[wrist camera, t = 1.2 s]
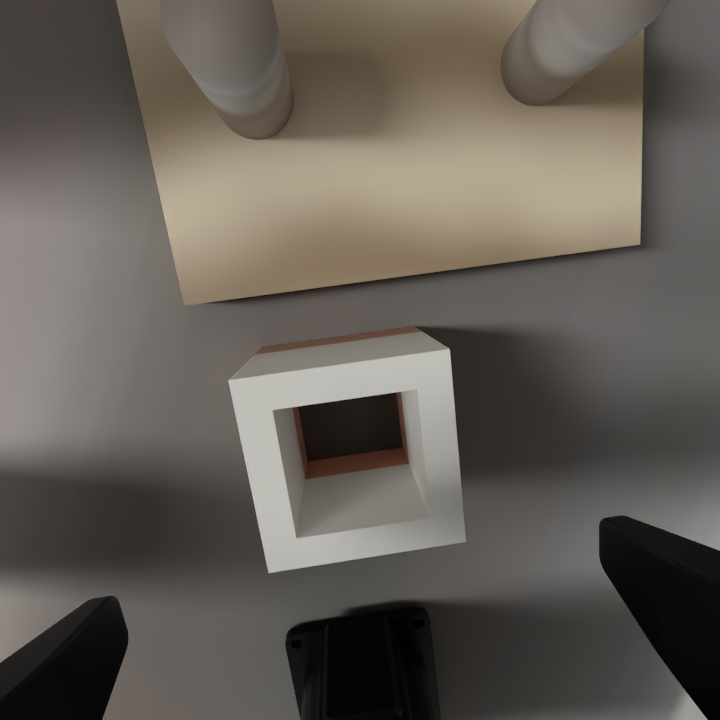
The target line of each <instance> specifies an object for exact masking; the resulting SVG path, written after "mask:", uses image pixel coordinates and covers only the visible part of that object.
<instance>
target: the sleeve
mask: <svg viewBox="0 0 720 720" xmlns="http://www.w3.org/2000/svg"><path fill="white" fill-rule="evenodd" d="M228 381H229V386H230V390H231V395H232V400H233V405H234V410H235V414H236V419H237V424H238V429H239V434H240V439H241V443H242V448H243V453H244V458H245V463H246V467H247V472H248V477H249V482H250V487H251V491H252V496H253V501H254V506H255V511H256V516H257V520H258V525H259V530H260V535H261V540H262V544H263V549H264V554H265V559H266V564H267V568H268V573H273V572H279V571H285V570H292V569H298V568H304V567H311V566H317V565H323V564H330V563H336V562H342V561H349V560H355V559H361V558H368V557H374V556H380V555H387V554H393V553H399V552H406V551H412V550H418V549H425V548H431V547H437V546H444V545H450V544H456V543H463V542H466V536H465V524H464V512H463V500H462V488H461V476H460V464H459V452H458V440H457V428H456V416H455V404H454V392H453V381H452V369H451V357H450V349H449V348H448V347H446V346H444V345H443V344H441V343H440V342H438V341H437V340H435V339H433V338H432V337H430V336H429V335H427V334H426V333H424V332H422V331H421V330H419V329H418V328H416V327H415V326H412V327H405V328H398V329H390V330H383V331H376V332H369V333H361V334H354V335H347V336H340V337H333V338H325V339H318V340H311V341H304V342H297V343H289V344H282V345H275V346H268V347H262V348H261V349H260V350H259V351H257V352H256V353H255V354H254V355H253V356H252V357H251V358H250V359H249V360H248V361H247V362H246V363H245V364H244V365H243V366H242V367H241V368H240V369H239V370H238V371H237V372H236V373H235V374H234V375H233V376H232V377H231V378H230V379H229V380H228ZM395 392H396V395H397V404H398V412H399V421H400V429H401V438H402V447H401V448H394V449H388V450H381V451H374V452H368V453H361V454H354V455H347V456H341V457H334V458H327V459H321V460H314V461H307V455H306V449H305V443H304V438H303V432H302V426H301V420H300V414H299V409H298V406H305V405H312V404H319V403H326V402H333V401H340V400H347V399H354V398H361V397H367V396H374V395H381V394H388V393H395Z"/></svg>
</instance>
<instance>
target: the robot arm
mask: <svg viewBox="0 0 720 720" xmlns="http://www.w3.org/2000/svg"><path fill="white" fill-rule="evenodd" d="M599 556H600V562H601V565H602V567H603V569H604V571H605V573H606V574H607V576H608V577H609V579H610V581H611V582H612V584H613V585H614V587H615V588H616V590H617V591H618V593H619V595H620V596H621V598H622V599H623V601H624V602H625V604H626V605H627V607H628V609H629V610H630V612H631V613H632V615H633V616H634V618H635V619H636V621H637V623H638V624H639V626H640V627H641V629H642V630H643V632H644V633H645V635H646V637H647V638H648V640H649V641H650V643H651V644H652V646H653V647H654V649H655V650H656V652H657V653H658V655H659V656H660V657H661V659H662V660H663V661H664V663H665V664H666V665H667V667H668V668H669V670H670V671H671V672H672V674H673V675H674V676H675V677H676V679H677V680H678V681H679V683H680V684H681V685H682V687H683V688H684V689H685V691H686V692H687V693H688V694H689V696H690V697H691V698H692V700H693V701H694V702H695V704H696V705H697V706H698V707H699V709H700V710H701V711H702V713H703V714H704V715H705V717H706V718H707V719H708V720H720V551H719V550H716V549H713V548H711V547H708V546H705V545H703V544H700V543H697V542H695V541H692V540H689V539H686V538H684V537H681V536H678V535H676V534H673V533H670V532H668V531H665V530H662V529H659V528H657V527H654V526H651V525H649V524H646V523H643V522H641V521H638V520H635V519H632V518H630V517H627V516H614V517H608V518H604V519H602V520H601V521H600V524H599ZM417 619H421V620H419V621H415V620H417ZM295 639H299V641H295ZM127 645H128V630H127V627H126V623H125V620H124V617H123V613H122V610H121V607H120V603H119V601H118V599H117V598H116V597H114V596H106V597H100V598H94V599H91V600H88V601H87V602H85V603H84V604H82V605H81V606H80V607H78V608H77V609H75V610H74V611H73V612H71V613H70V614H68V615H67V616H66V617H64V618H63V619H61V620H60V621H58V622H57V623H56V624H54V625H53V626H51V627H50V628H49V629H47V630H46V631H44V632H43V633H42V634H40V635H39V636H37V637H36V638H35V639H33V640H32V641H30V642H29V643H28V644H26V645H25V646H23V647H22V648H20V649H19V650H18V651H16V652H15V653H13V654H12V655H11V656H9V657H8V658H6V659H5V660H4V661H2V662H1V663H0V720H102V719H103V716H104V713H105V710H106V707H107V704H108V701H109V699H110V696H111V693H112V690H113V687H114V684H115V681H116V678H117V676H118V673H119V670H120V667H121V664H122V661H123V658H124V655H125V652H126V649H127ZM285 646H286V651H287V656H288V661H289V666H290V670H291V675H292V680H293V685H294V690H295V695H296V700H297V704H298V709H299V714H300V719H301V720H440V719H441V717H440V708H439V699H438V690H437V681H436V672H435V663H434V654H433V645H432V636H431V627H430V620H429V617H428V613H427V611H426V610H425V609H423V608H421V607H415V608H409V609H403V610H396V611H390V612H384V613H378V614H372V615H366V616H360V617H353V618H347V619H341V620H335V621H329V622H323V623H317V624H310V625H304V626H298V627H294V628H291V629H290V630H289V631H288V633H287V635H286V643H285Z"/></svg>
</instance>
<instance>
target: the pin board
mask: <svg viewBox="0 0 720 720" xmlns="http://www.w3.org/2000/svg"><path fill="white" fill-rule="evenodd" d="M669 1H670V0H116V2H117V6H118V11H119V15H120V20H121V24H122V29H123V33H124V38H125V42H126V47H127V51H128V56H129V60H130V65H131V69H132V74H133V78H134V83H135V87H136V92H137V96H138V100H139V105H140V109H141V114H142V118H143V123H144V127H145V132H146V136H147V141H148V145H149V150H150V154H151V159H152V163H153V168H154V172H155V177H156V181H157V186H158V190H159V195H160V199H161V204H162V208H163V213H164V217H165V222H166V226H167V231H168V235H169V240H170V244H171V248H172V253H173V257H174V262H175V266H176V271H177V275H178V280H179V284H180V289H181V293H182V298H183V302H184V306H186V305H193V304H201V303H208V302H216V301H223V300H231V299H238V298H245V297H253V296H260V295H268V294H275V293H283V292H290V291H298V290H305V289H312V288H320V287H327V286H335V285H342V284H350V283H357V282H365V281H372V280H379V279H387V278H394V277H402V276H409V275H417V274H424V273H432V272H439V271H446V270H454V269H461V268H469V267H476V266H484V265H491V264H499V263H506V262H513V261H521V260H528V259H536V258H543V257H551V256H558V255H566V254H573V253H580V252H588V251H595V250H603V249H610V248H618V247H625V246H633V245H640V233H641V180H642V126H643V72H644V28H645V27H647V26H648V25H649V24H650V23H652V22H653V21H654V20H655V19H656V18H657V17H658V16H659V15H660V14H661V13H662V12H663V11H664V9H665V8H666V6H667V5H668V3H669Z"/></svg>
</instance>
